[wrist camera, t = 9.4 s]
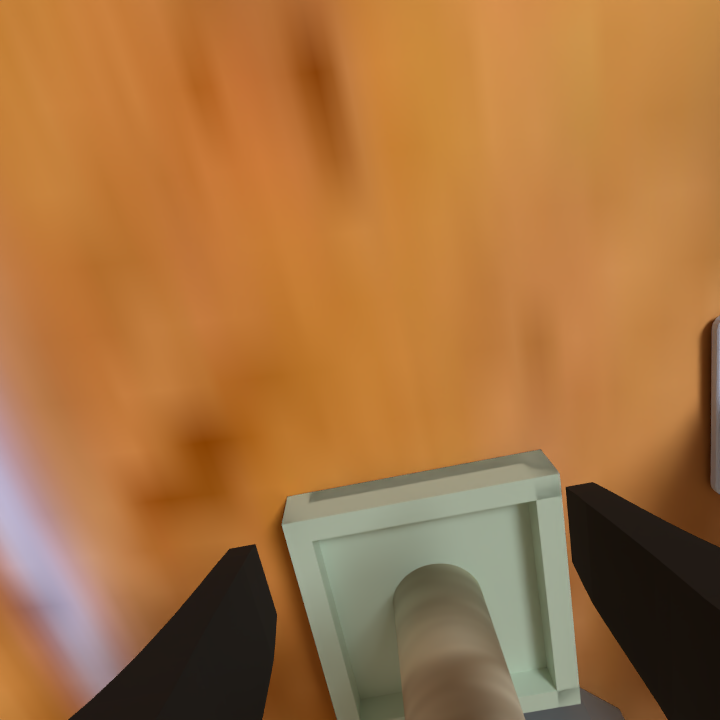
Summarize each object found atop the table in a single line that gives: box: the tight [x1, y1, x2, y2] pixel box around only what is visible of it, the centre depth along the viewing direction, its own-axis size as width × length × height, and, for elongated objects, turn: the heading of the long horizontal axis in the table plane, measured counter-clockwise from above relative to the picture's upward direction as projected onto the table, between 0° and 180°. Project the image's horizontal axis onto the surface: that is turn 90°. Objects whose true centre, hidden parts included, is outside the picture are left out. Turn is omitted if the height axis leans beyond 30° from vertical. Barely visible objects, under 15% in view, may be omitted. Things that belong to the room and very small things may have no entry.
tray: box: [282, 450, 581, 720], centre depth 22 cm, size 11×12×2 cm
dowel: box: [393, 564, 525, 720], centre depth 18 cm, size 4×4×9 cm
